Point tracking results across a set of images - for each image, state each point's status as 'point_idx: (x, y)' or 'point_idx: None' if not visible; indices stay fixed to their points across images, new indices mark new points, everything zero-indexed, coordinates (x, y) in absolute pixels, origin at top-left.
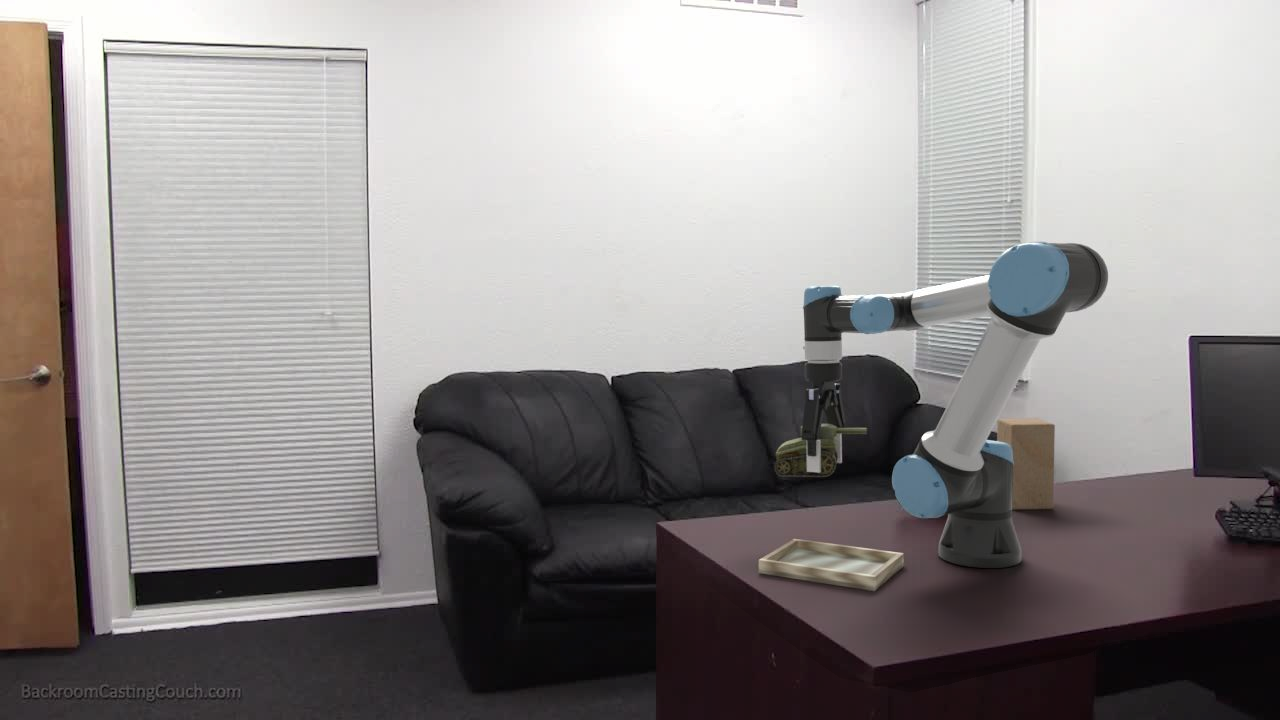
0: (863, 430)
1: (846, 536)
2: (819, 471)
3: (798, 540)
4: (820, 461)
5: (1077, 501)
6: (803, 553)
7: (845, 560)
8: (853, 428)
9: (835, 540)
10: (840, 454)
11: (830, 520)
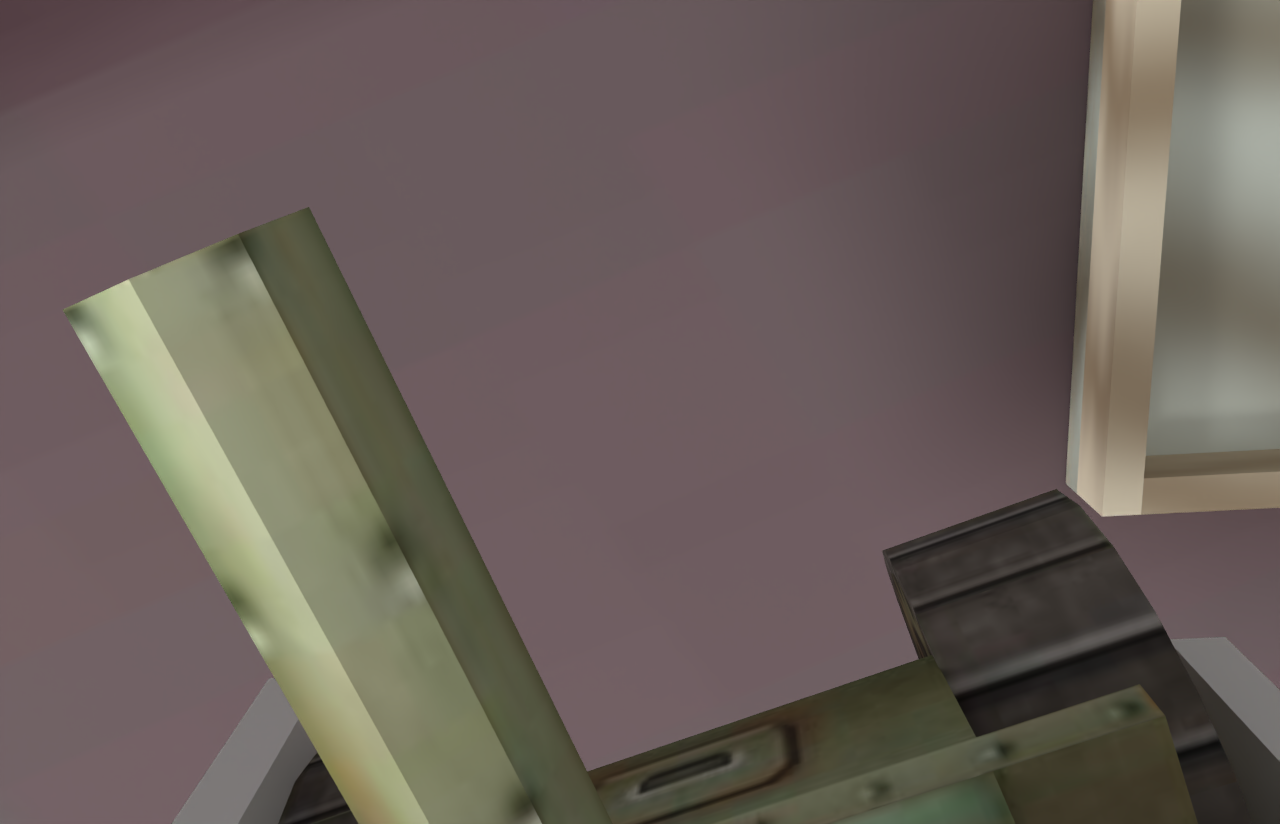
0: (358, 345)
1: (501, 336)
2: (1231, 646)
3: (1137, 471)
4: (1264, 736)
5: None
6: (1214, 370)
7: (1277, 18)
8: (451, 760)
9: (652, 359)
10: (274, 759)
11: (146, 615)
